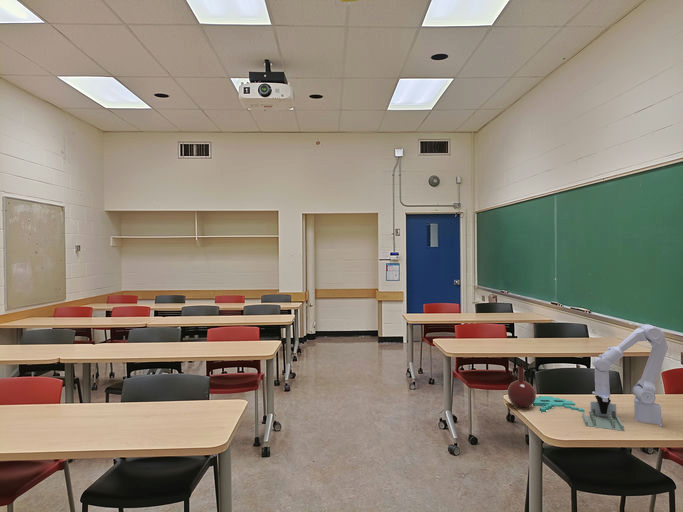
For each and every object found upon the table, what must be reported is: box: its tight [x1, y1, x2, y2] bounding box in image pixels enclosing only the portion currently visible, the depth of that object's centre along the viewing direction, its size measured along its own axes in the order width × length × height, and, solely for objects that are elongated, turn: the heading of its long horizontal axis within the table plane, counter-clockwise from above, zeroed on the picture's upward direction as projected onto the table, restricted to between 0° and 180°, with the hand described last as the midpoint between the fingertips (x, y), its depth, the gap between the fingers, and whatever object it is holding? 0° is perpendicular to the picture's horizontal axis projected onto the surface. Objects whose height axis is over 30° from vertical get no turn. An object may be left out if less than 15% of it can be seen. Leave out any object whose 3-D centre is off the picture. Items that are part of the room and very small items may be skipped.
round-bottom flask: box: [507, 366, 537, 409], centre depth 199 cm, size 13×13×20 cm
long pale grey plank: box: [589, 400, 617, 417], centre depth 184 cm, size 10×1×6 cm, turn 65°
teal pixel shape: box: [532, 395, 586, 413], centre depth 200 cm, size 20×2×20 cm
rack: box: [581, 410, 625, 432], centre depth 175 cm, size 14×13×4 cm
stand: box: [588, 409, 617, 420], centre depth 184 cm, size 11×6×4 cm, turn 65°
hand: (603, 412), depth 184 cm, fingers closed on long pale grey plank, 1 cm apart
